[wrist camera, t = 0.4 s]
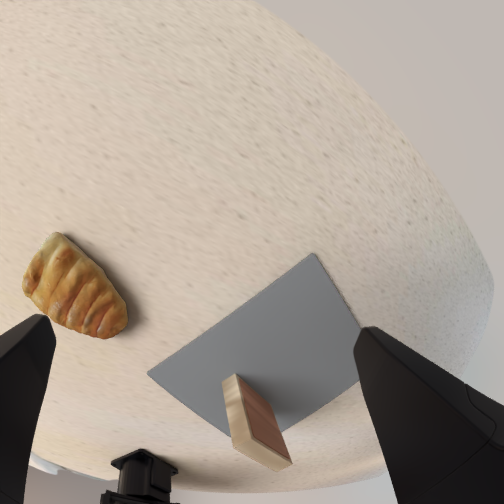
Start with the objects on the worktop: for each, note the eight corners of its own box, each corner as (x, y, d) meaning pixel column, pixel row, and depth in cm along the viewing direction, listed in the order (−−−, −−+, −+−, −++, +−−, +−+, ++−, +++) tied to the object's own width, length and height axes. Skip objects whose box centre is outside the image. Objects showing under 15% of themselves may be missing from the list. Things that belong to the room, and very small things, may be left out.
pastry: (147, 291, 22) (139, 313, 19) (109, 345, 23) (99, 371, 19) (57, 223, 19) (35, 233, 16) (28, 284, 20) (7, 302, 16)
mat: (249, 446, 29) (249, 449, 29) (147, 371, 24) (146, 374, 24) (378, 361, 29) (380, 363, 28) (312, 252, 24) (314, 253, 23)
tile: (258, 412, 27) (277, 472, 19) (221, 382, 25) (233, 448, 18) (271, 404, 27) (293, 463, 19) (236, 372, 25) (252, 438, 18)
